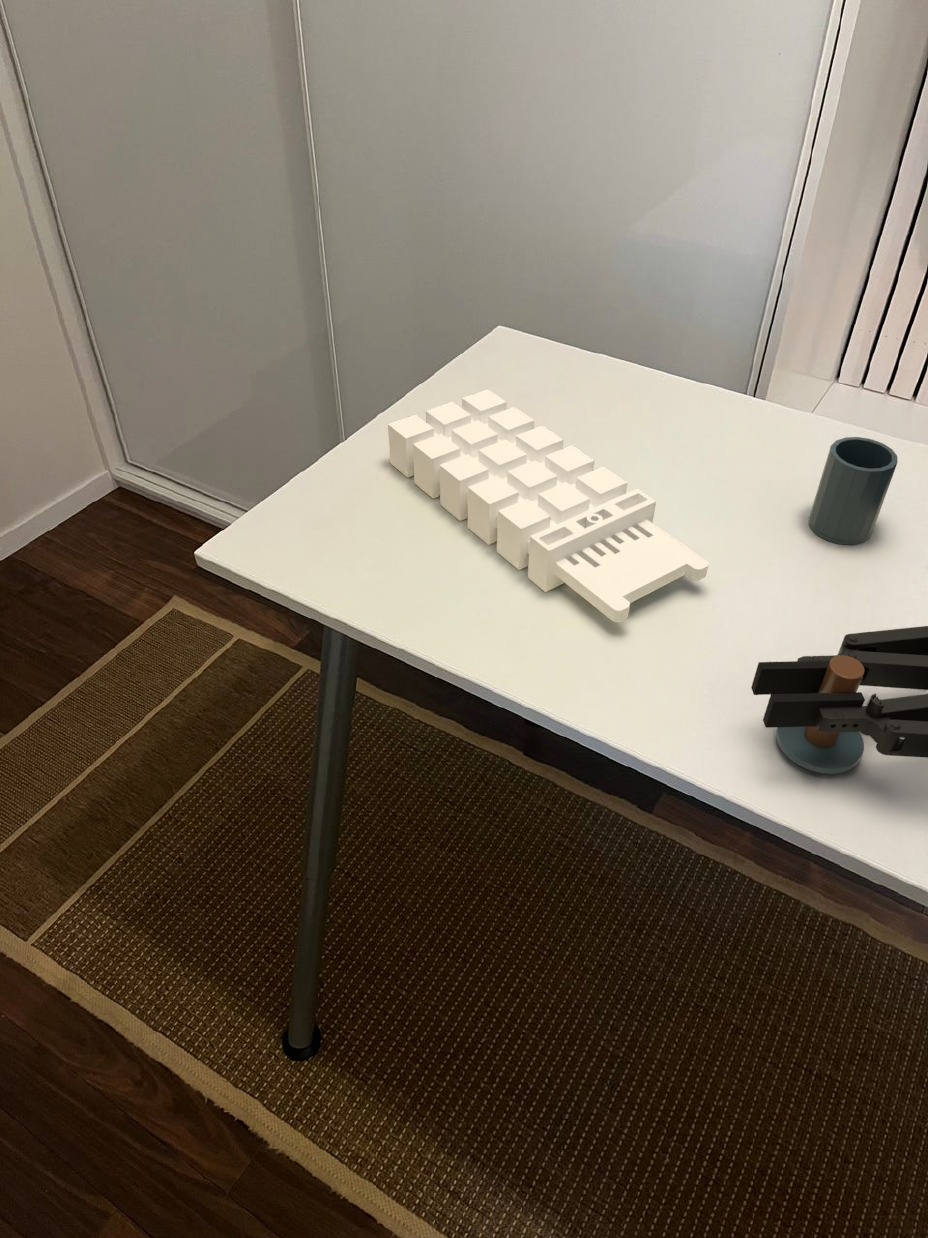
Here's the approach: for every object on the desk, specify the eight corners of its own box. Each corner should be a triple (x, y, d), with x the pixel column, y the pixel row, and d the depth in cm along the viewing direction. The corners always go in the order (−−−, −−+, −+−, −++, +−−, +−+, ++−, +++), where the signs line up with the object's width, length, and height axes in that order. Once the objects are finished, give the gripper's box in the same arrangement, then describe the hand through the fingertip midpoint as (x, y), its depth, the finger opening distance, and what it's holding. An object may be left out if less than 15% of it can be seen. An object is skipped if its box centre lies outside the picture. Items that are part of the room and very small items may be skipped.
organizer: (487, 389, 105) (721, 545, 84) (486, 426, 108) (712, 586, 87) (387, 424, 99) (612, 600, 78) (390, 463, 102) (606, 642, 81)
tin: (871, 515, 95) (897, 442, 90) (871, 549, 91) (898, 475, 85) (810, 504, 97) (831, 432, 91) (807, 538, 93) (829, 464, 87)
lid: (860, 726, 74) (893, 646, 68) (859, 788, 70) (895, 708, 64) (777, 707, 76) (803, 628, 70) (770, 767, 71) (798, 687, 65)
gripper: (1112, 804, 66) (780, 813, 65) (1009, 650, 77) (726, 656, 77) (1166, 734, 61) (807, 743, 60) (1047, 580, 72) (745, 586, 72)
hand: (762, 694), depth 69 cm, fingers open, 3 cm apart
